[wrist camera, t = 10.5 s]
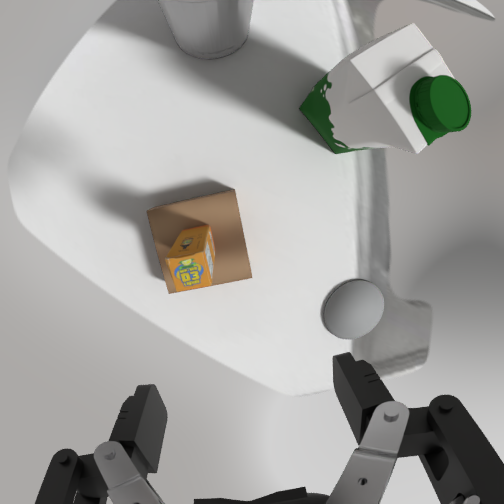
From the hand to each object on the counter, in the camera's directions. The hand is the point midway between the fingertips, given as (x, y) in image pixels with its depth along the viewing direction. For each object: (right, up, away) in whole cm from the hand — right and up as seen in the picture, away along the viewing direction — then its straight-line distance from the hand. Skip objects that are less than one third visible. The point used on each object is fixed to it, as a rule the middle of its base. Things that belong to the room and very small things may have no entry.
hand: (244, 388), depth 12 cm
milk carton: (+11, +23, +21) cm, 33 cm away
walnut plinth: (-6, +7, +24) cm, 26 cm away
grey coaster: (+15, -2, +28) cm, 32 cm away
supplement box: (-5, +7, +21) cm, 23 cm away
